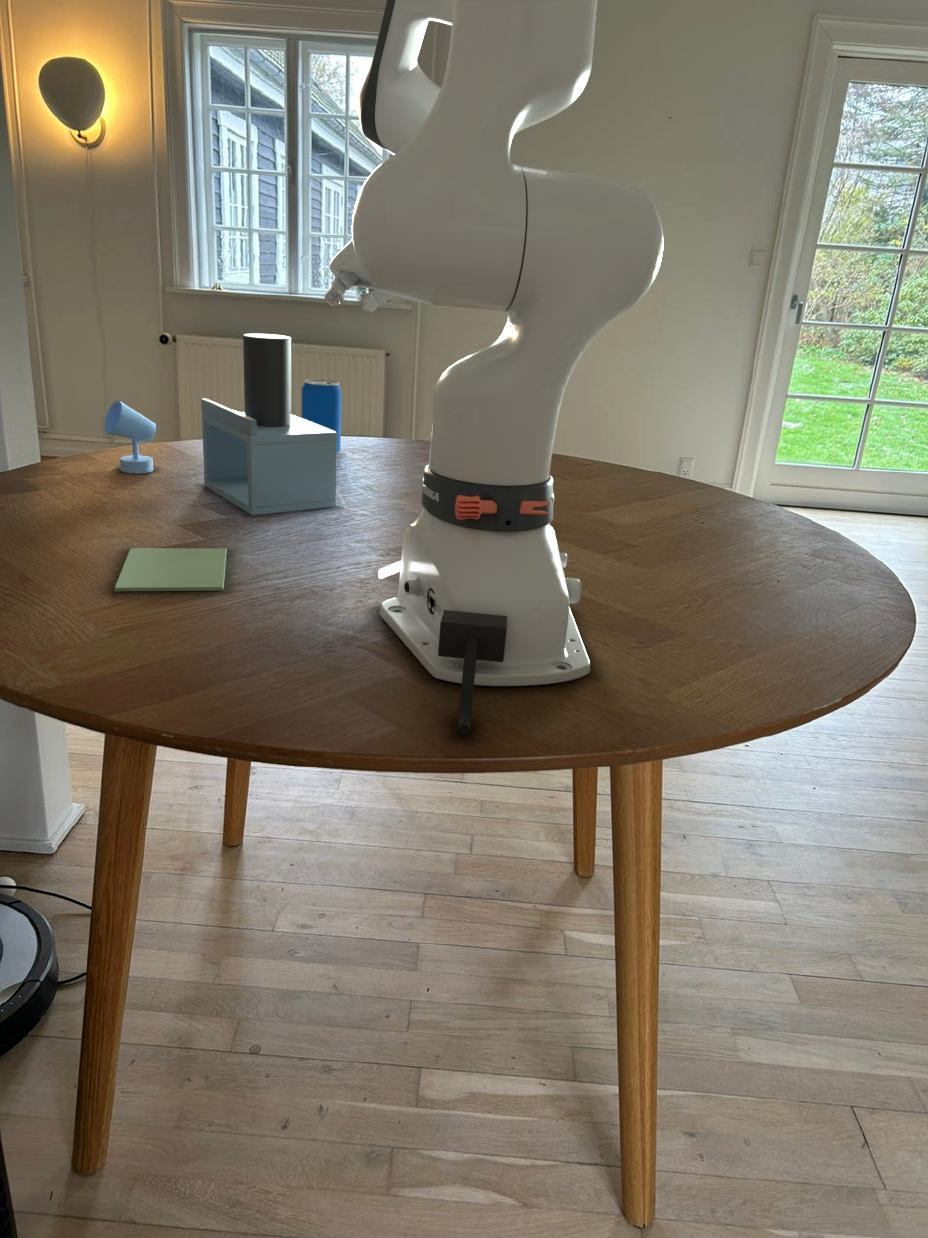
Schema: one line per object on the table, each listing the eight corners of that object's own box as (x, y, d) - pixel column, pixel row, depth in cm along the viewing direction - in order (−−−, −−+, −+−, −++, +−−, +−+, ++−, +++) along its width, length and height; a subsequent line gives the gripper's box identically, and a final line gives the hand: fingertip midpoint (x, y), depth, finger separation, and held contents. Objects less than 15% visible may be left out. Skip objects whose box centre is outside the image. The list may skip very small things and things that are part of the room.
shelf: (335, 506, 115) (337, 416, 110) (252, 515, 108) (250, 420, 103) (283, 478, 126) (282, 396, 122) (204, 485, 119) (200, 398, 115)
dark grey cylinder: (292, 427, 111) (292, 339, 107) (244, 425, 110) (242, 336, 106) (290, 419, 117) (290, 335, 112) (245, 417, 115) (243, 332, 111)
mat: (223, 590, 84) (223, 586, 84) (114, 591, 81) (114, 587, 81) (226, 551, 94) (226, 548, 94) (130, 551, 92) (130, 547, 92)
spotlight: (115, 475, 120) (163, 471, 125) (109, 403, 117) (159, 402, 121) (103, 468, 124) (150, 464, 128) (97, 398, 120) (146, 396, 124)
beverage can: (344, 452, 146) (345, 381, 142) (335, 460, 140) (336, 385, 136) (307, 449, 146) (307, 377, 142) (296, 456, 141) (296, 381, 136)
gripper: (358, 211, 121) (296, 281, 119) (441, 212, 107) (371, 292, 105) (384, 248, 126) (324, 316, 124) (467, 253, 111) (400, 331, 109)
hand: (346, 305), depth 114 cm, fingers open, 8 cm apart
